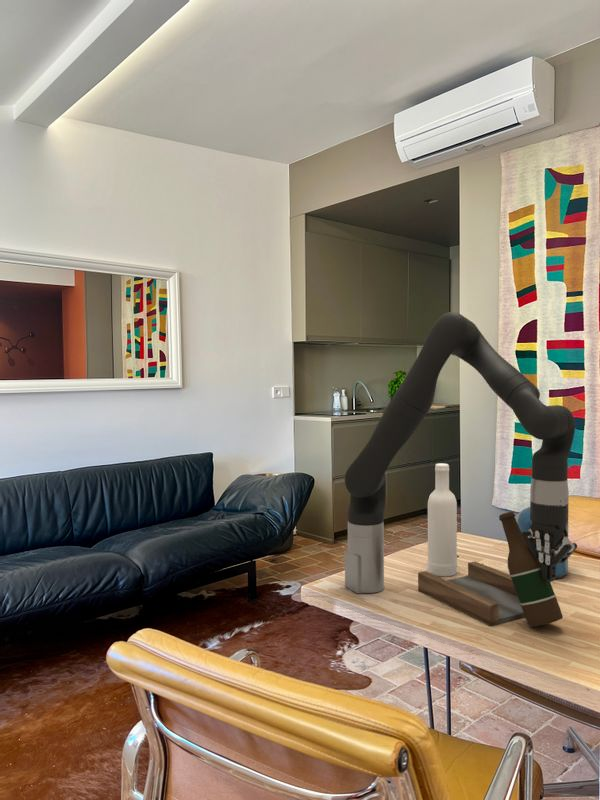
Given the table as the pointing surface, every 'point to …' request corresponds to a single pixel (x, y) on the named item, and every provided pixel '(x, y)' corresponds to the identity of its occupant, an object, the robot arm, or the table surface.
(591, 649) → the table surface
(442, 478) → the bottle
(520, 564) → the beer bottle
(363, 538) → the robot arm
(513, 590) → the cradle
